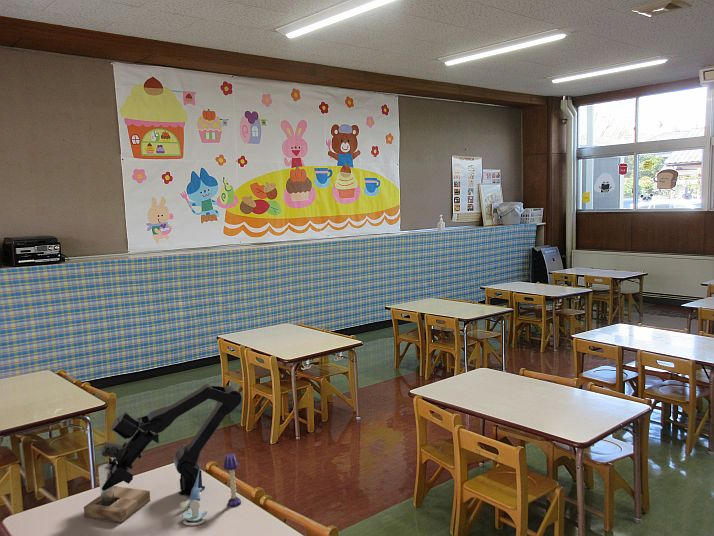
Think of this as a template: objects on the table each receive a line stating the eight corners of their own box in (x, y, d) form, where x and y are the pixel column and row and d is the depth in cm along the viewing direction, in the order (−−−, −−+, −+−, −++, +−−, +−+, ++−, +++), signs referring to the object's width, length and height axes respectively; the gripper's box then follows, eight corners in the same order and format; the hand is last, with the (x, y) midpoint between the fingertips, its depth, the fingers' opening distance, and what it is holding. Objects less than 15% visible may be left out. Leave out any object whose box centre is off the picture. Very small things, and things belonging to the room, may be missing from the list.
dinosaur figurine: (191, 512, 195) (178, 510, 186) (200, 464, 201) (188, 460, 193) (199, 512, 194) (186, 510, 186) (208, 465, 200) (196, 461, 192)
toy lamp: (237, 508, 189) (234, 458, 187) (223, 507, 190) (220, 457, 188) (243, 500, 193) (240, 451, 191) (229, 499, 194) (226, 451, 192)
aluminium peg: (117, 502, 191) (114, 463, 190) (111, 508, 187) (108, 469, 186) (105, 502, 191) (101, 463, 190) (99, 508, 187) (95, 469, 186)
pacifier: (203, 527, 179) (209, 516, 185) (201, 508, 178) (207, 497, 184) (179, 527, 179) (186, 515, 185) (177, 507, 179) (185, 497, 184)
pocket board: (150, 500, 195) (149, 490, 195) (121, 523, 182) (120, 512, 182) (115, 495, 199) (114, 486, 199) (84, 517, 186) (83, 506, 186)
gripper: (113, 423, 197) (79, 462, 193) (118, 443, 180) (81, 486, 176) (140, 440, 201) (108, 479, 197) (147, 462, 184) (112, 504, 181)
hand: (102, 486), depth 188 cm, fingers closed on aluminium peg, 4 cm apart
